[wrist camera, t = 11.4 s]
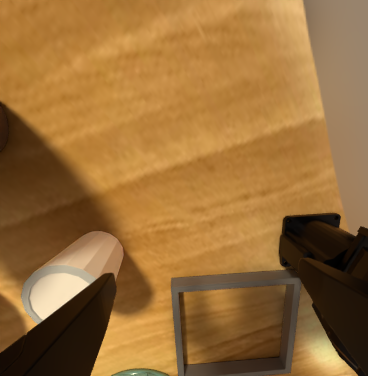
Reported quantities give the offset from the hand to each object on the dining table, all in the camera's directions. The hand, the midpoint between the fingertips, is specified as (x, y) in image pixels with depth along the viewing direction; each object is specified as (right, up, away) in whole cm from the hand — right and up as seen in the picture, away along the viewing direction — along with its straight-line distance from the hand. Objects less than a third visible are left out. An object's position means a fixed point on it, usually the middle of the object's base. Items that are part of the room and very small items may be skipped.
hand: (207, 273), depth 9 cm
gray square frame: (+5, -14, +16) cm, 22 cm away
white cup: (-11, -3, +13) cm, 17 cm away
